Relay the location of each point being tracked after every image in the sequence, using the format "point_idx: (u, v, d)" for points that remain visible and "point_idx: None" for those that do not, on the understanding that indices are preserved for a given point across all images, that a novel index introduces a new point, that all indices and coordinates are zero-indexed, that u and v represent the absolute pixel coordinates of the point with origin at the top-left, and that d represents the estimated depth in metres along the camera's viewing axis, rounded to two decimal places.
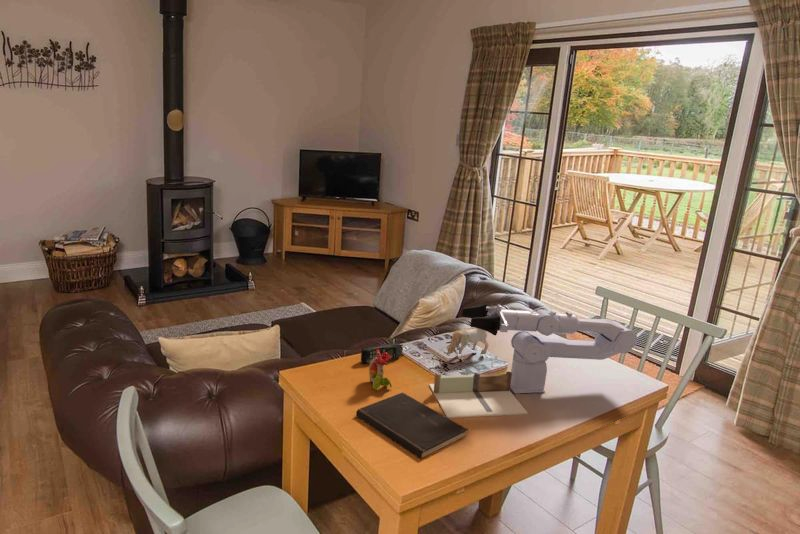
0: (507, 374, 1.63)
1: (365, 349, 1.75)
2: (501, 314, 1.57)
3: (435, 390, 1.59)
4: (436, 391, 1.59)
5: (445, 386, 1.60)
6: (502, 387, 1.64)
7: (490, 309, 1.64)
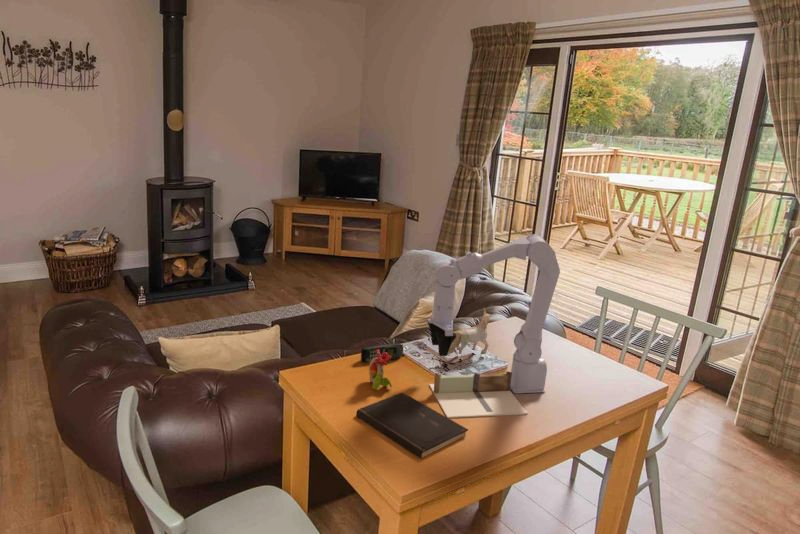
0: (507, 374, 1.63)
1: (365, 348, 1.76)
2: (436, 324, 1.61)
3: (435, 390, 1.59)
4: (436, 391, 1.59)
5: (445, 386, 1.60)
6: (502, 387, 1.64)
7: None
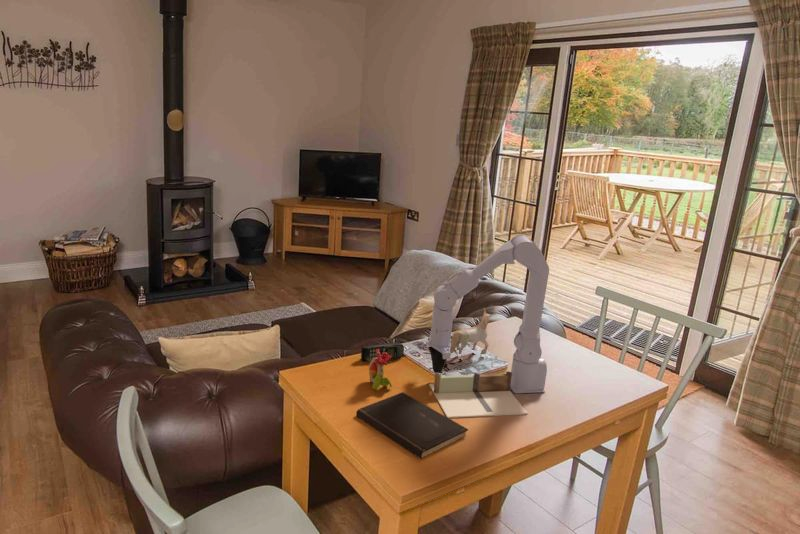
0: (507, 374, 1.63)
1: (365, 347, 1.77)
2: (434, 347, 1.62)
3: (435, 390, 1.59)
4: (436, 391, 1.59)
5: (445, 386, 1.60)
6: (502, 387, 1.64)
7: None
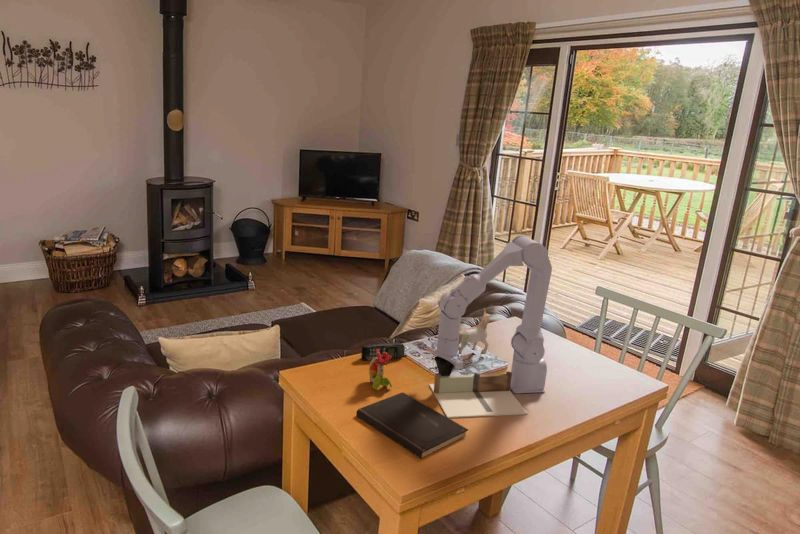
0: (507, 374, 1.63)
1: (365, 346, 1.77)
2: (444, 357, 1.56)
3: (435, 390, 1.59)
4: (436, 391, 1.59)
5: (445, 386, 1.59)
6: (502, 387, 1.64)
7: None
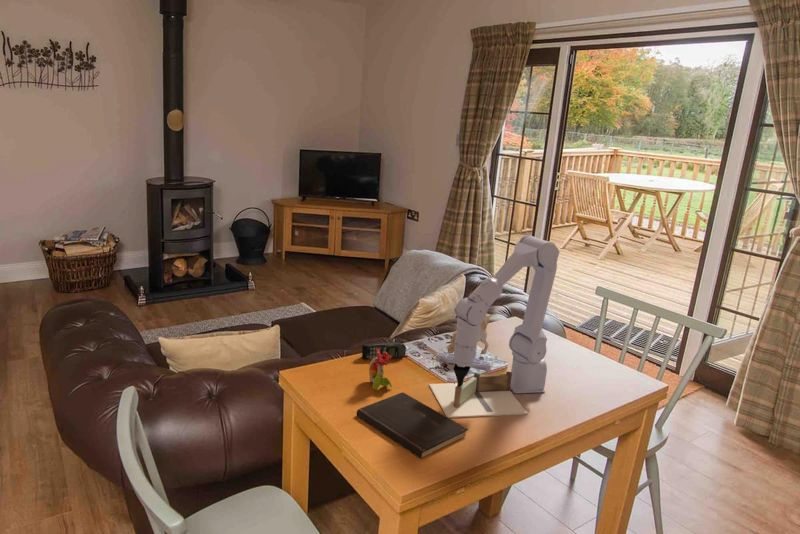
0: (507, 374, 1.63)
1: (366, 344, 1.78)
2: (471, 365, 1.52)
3: (457, 404, 1.52)
4: (458, 405, 1.53)
5: (463, 397, 1.54)
6: (502, 387, 1.64)
7: None
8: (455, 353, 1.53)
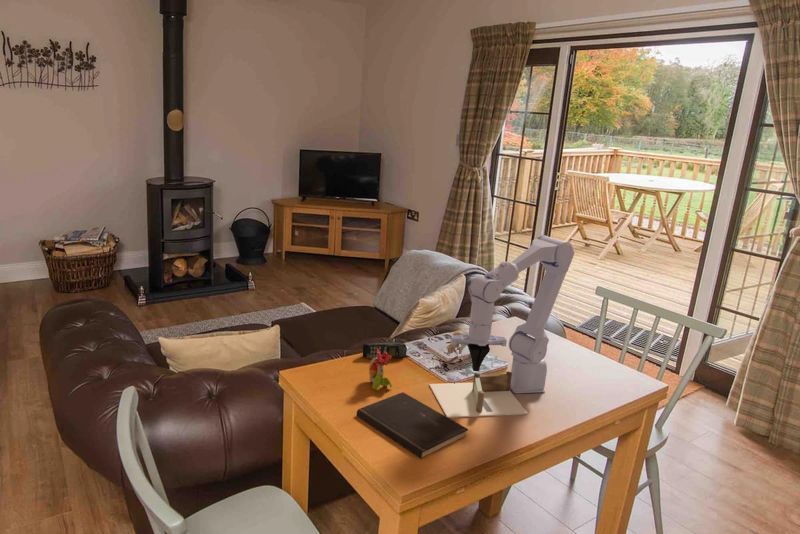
0: (507, 374, 1.63)
1: (366, 343, 1.79)
2: (490, 342, 1.51)
3: (481, 409, 1.51)
4: None
5: None
6: (502, 387, 1.64)
7: None
8: (473, 333, 1.50)
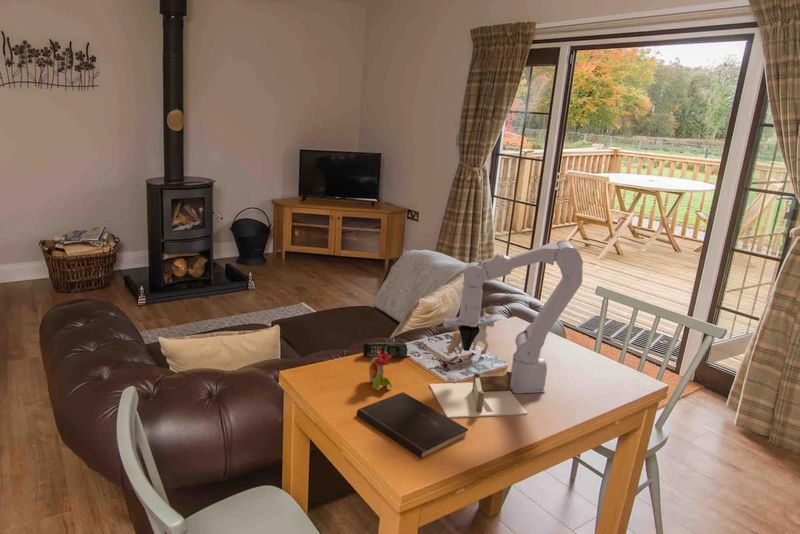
0: (507, 374, 1.63)
1: (367, 343, 1.80)
2: (480, 323, 1.64)
3: (481, 409, 1.51)
4: None
5: None
6: (502, 387, 1.64)
7: None
8: (464, 316, 1.62)
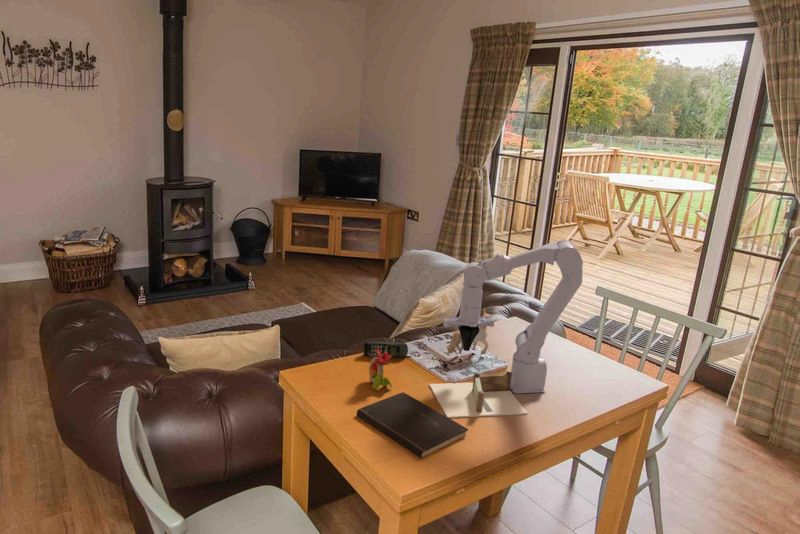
0: (507, 374, 1.63)
1: (367, 342, 1.80)
2: (480, 323, 1.64)
3: (481, 409, 1.51)
4: None
5: None
6: (502, 387, 1.64)
7: None
8: (464, 316, 1.62)
